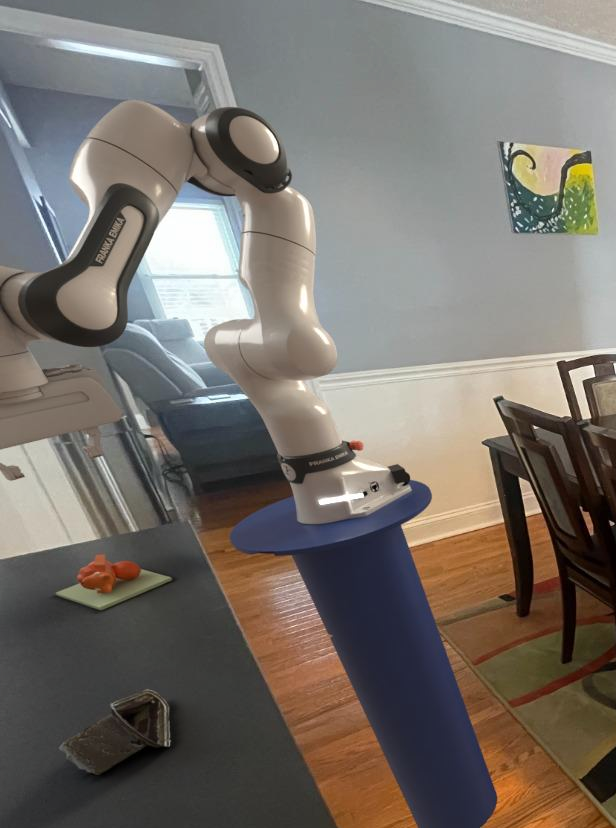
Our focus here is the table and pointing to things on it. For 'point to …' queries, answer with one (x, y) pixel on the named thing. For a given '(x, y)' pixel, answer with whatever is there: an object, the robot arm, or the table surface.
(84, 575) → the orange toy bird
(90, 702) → the table surface
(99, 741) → the brown hollow wedge shell
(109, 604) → the place mat
